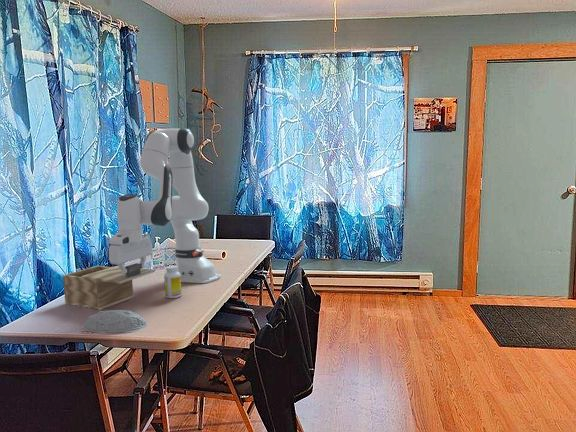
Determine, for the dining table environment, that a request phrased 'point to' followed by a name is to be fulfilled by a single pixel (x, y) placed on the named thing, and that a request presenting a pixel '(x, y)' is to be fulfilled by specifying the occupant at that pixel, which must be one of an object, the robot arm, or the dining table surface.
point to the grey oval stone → (114, 322)
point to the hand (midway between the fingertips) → (133, 270)
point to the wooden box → (94, 290)
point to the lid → (119, 274)
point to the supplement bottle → (172, 282)
